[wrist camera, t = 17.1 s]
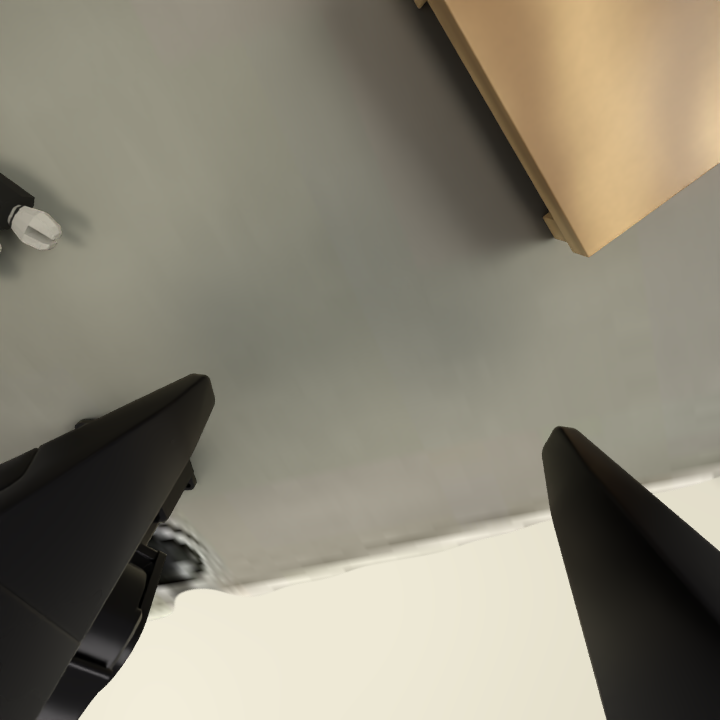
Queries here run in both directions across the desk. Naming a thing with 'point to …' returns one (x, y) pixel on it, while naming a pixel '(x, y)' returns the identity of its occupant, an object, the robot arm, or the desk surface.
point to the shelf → (597, 100)
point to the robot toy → (26, 217)
